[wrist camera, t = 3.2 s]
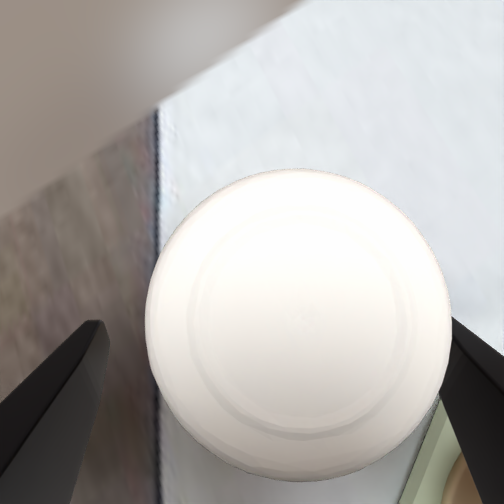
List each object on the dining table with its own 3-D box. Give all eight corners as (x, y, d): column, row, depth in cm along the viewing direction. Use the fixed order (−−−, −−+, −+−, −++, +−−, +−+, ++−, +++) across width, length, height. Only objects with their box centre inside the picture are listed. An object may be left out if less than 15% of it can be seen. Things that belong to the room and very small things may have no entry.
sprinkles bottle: (199, 340, 18) (93, 449, 5) (222, 250, 19) (184, 125, 5) (291, 362, 18) (437, 533, 5) (311, 271, 19) (490, 200, 5)
